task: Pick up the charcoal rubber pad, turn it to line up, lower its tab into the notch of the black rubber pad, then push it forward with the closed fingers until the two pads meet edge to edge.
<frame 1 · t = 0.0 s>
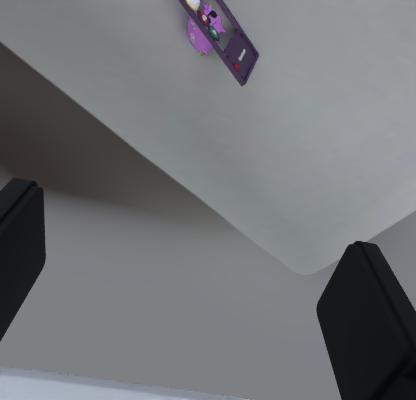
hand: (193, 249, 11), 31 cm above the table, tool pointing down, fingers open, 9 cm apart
game card: (214, 32, 37), on the table
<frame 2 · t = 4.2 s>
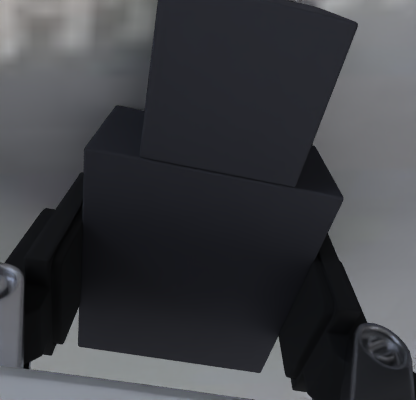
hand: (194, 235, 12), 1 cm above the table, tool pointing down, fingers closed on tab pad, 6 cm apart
tab pad: (195, 220, 13), on the table, touching gripper
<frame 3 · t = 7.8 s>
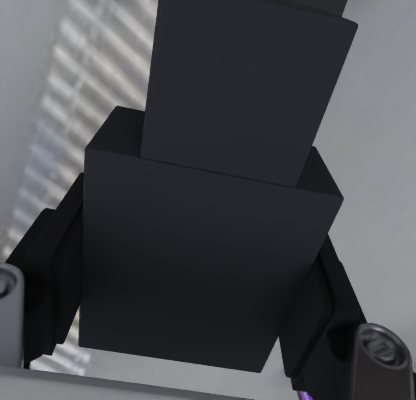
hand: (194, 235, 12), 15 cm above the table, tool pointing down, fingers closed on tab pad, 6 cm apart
tab pad: (196, 221, 13), point 15 cm above the table, touching gripper
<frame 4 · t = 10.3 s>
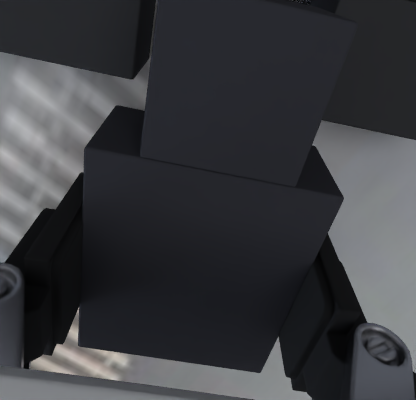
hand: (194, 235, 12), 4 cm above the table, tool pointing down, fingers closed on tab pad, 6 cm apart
tab pad: (196, 220, 13), point 3 cm above the table, touching gripper
when the fingers open (1 cm above the table, at t = 11.7 s): tab pad stays where it is, on the table.
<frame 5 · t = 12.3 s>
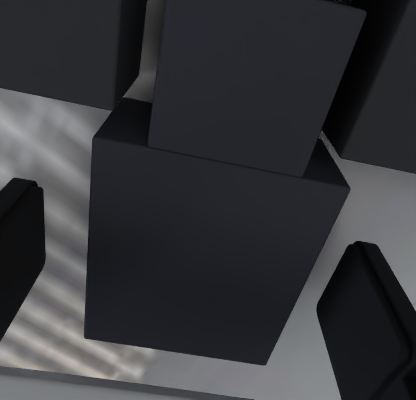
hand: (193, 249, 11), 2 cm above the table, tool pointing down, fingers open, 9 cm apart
tab pad: (201, 214, 13), on the table
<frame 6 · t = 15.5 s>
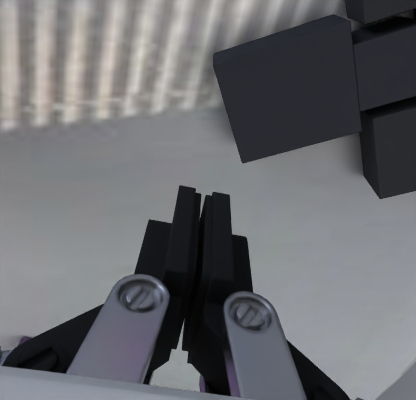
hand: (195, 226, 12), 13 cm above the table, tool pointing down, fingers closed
tab pad: (282, 85, 23), on the table
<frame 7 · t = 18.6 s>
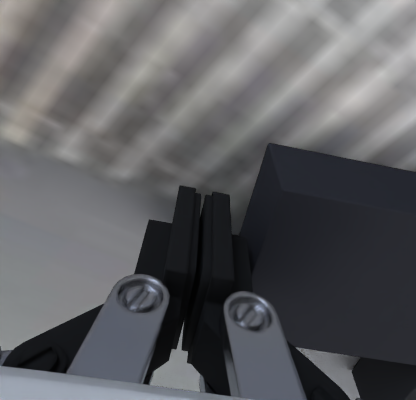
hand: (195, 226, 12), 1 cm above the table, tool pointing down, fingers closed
tab pad: (335, 233, 14), on the table, touching gripper
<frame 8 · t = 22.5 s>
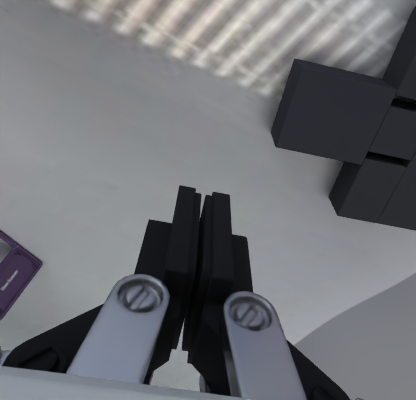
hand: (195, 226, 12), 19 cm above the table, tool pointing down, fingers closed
tab pad: (323, 106, 29), on the table, touching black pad
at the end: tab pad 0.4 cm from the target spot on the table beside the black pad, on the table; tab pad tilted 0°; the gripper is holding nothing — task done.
